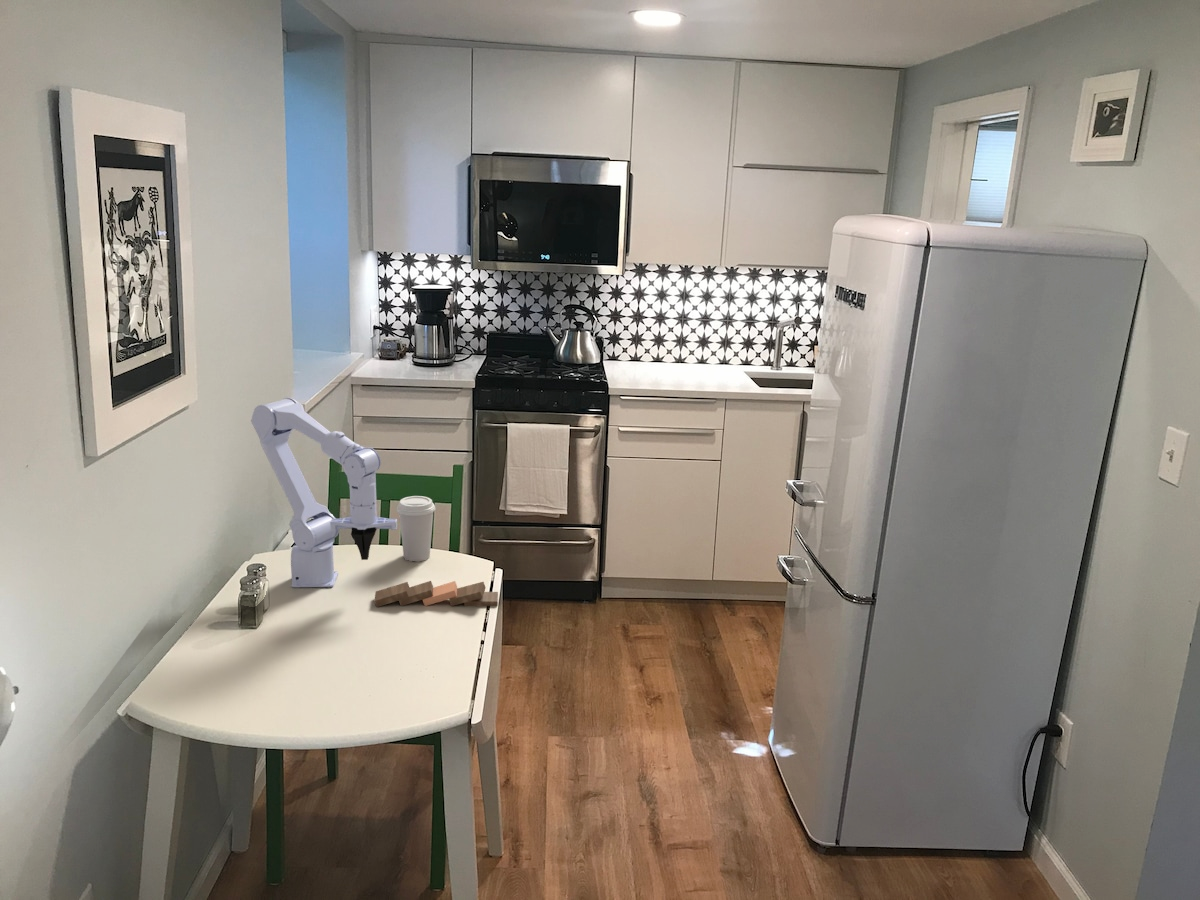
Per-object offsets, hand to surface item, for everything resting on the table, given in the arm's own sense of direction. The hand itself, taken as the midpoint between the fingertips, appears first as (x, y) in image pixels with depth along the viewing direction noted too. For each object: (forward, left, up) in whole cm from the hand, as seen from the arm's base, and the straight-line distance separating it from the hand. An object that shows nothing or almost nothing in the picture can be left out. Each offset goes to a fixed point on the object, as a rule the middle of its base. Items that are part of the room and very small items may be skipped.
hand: (365, 558), depth 214 cm
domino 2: (+8, -4, -8) cm, 12 cm away
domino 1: (+3, -5, -8) cm, 10 cm away
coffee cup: (+10, +21, -9) cm, 25 cm away
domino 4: (+20, -5, -8) cm, 22 cm away
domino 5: (+23, -5, -9) cm, 25 cm away
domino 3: (+14, -4, -8) cm, 16 cm away
